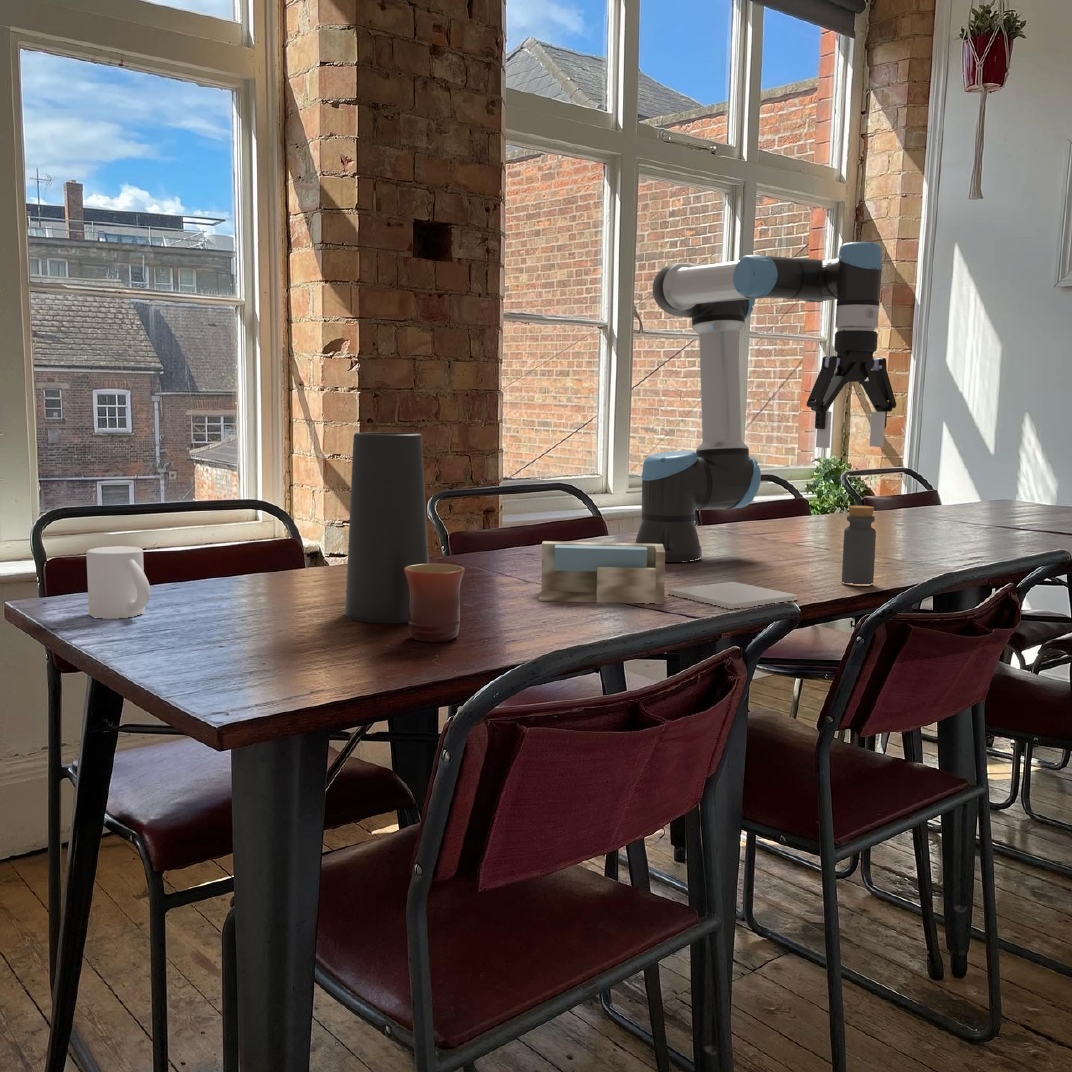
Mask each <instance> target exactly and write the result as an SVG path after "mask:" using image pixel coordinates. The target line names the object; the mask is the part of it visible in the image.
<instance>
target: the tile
mask: <svg viewBox="0 0 1072 1072" xmlns="http://www.w3.org/2000/svg"><path fill="white" fill-rule="evenodd" d="M667 593H668V594H670V595H669V596H672V595H674V597H676V596H677V597H676V598H680V599H684V598H688V599H687V600H689V599H692V600H691V601H693V600H696V601H695V602H697V601H700V602H699V603H701V602H704V603H703V604H705V603H711V604H715V605H718V606H722V607H724V608H723V609H726V608H728V610H730V609H733V610H735V609H734V608H740V607H743V608H742V609H745V608H755V607H759V606H758V605H762V606H766V605H765V604H769V603H775V602H778V601H792V600H790V599H795V598H798V599H799V594H795V593H789V592H784V591H779V590H776V589H775V590H774V589H770V588H765V587H760V586H756V585H751V584H746V583H741V582H739V581H738V582H736V581H728V582H718V583H711V584H702V585H694V586H685V587H684V586H683V587H676V588H675V587H674V588H668V591H667ZM668 594H667V595H668ZM792 602H793V601H792ZM718 606H717V607H718ZM754 606H755V607H754ZM722 607H721V608H722ZM740 609H741V608H740Z"/></svg>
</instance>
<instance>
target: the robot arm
mask: <svg viewBox="0 0 1072 1072" xmlns="http://www.w3.org/2000/svg"><path fill="white" fill-rule="evenodd" d="M883 268H884V265H883V249H882V246H881V245H880V244H879V243H876V242H873V241H872V242H871V241H854V242H853V241H852V242H846V243H843V244H841V245H840V247H839V251H838V255H837V257H836V258H830V259H829V258H828V259H815V258H804V257H803V258H801V257H786V256H785V257H783V256H773V255H765V254H748V255H744V256H741V259H739V260H733V261H726V262H725V261H724V262H719V263H711V264H707V263H693V262H692V263H690V262H677V263H672V264H669V265H666V266H665V267H663V268H662V269H660V270H659V271H658V272H657V274H656V276H655V278H654V280H653V283H652V297H653V299H654V301H655V303H656V304H657V306H658V307H659V308H660V309H661V310H662V311H664V312H665V313H667V314H669V315H671V316H675V317H680V318H691V329H692V330H693V331H694V332H695V333H696V334H697V335H698V338H699V363H700V364H699V368H700V369H699V370H700V371H699V373H700V399H701V400H700V401H701V402H700V403H701V404H700V405H701V430H702V431H701V434H702V437H701V438H702V441H701V444H700V445H699V446H698V447H697V448H696V449H695V451H694V450H675V451H674V450H673V451H666V452H665V451H664V452H658V453H654V454H650V455H649V456H647V457H645V459H644V460H643V464H642V473H641V480H642V482H641V520H640V521H641V522H640V526H639V529H638V531H637V535H636V538H635V543H642V544H663V547H664V550H665V562H682V561H690V560H695V559H698V558H700V557H702V554H703V553H702V552H703V550H702V545H700V540H699V536H698V532H697V528H696V524H695V523H696V521H695V518H696V511H697V510H698V511H700V510H703V511H704V510H705V511H706V510H727V511H728V510H733V509H738V508H739V509H741V508H746V507H747V506H749V505H750V504H751V503H752V502H753V501H754V500H755V498H756V496H757V495H758V492H759V489H760V487H761V479H762V475H761V474H762V473H761V467H760V465H759V462H758V461H757V459H756V458H755V457H753V456H750V449H749V448H750V447H749V446H747V445H746V443H744V442H743V440H742V415H741V414H742V413H741V412H742V411H741V387H740V386H741V385H740V384H741V379H740V376H741V375H740V352H739V350H740V348H739V346H740V345H739V334H740V333H739V332H740V331H741V330H742V329H743V328H744V327H745V326H746V325H745V324H746V320H747V318H749V316H750V315H752V313H753V310H754V308H753V307H754V306H755V303H756V302H755V301H756V300H758V299H786V300H787V299H788V300H801V301H803V302H806V303H823V302H826V301H827V302H828V301H833V300H836V303H835V304H836V305H835V306H836V309H835V310H836V311H835V323H834V327H835V329H838V330H837V331H836V332H835V333H834V346H833V350H834V351H835V352H836V355H827V356H826V355H824V356H823V357H822V361H821V368H820V370H819V372H818V375H817V377H816V380H815V382H814V385H813V387H812V390H811V392H810V394H809V397H808V399H807V401H806V407H808V408H810V409H811V411H812V412H813V411H814V413H815V414H814V415H815V417H814V428H815V430H816V438H815V440H816V441H815V447H816V448H823V449H829V448H831V430H832V429H831V428H832V427H831V426H832V411H828V410H829V408H830V407H831V406H832V405H833V403H834V401H835V400H836V398H837V397H838V395H839V394H840V392H841V390H843V388H844V387H845V386H846V384H849V383H850V382H851V383H858V384H859V385H861V386H862V388H863V389H864V392H865V394H866V395H867V397H868V399H869V401H870V403H871V405H872V406H873V408H874V409H875V411H871V416H870V429H869V430H870V431H869V432H870V433H869V447H873V448H875V447H876V448H884V446H885V445H884V441H885V429H887V428H886V427H887V420H888V413H890V412H892V411H893V409H896V407H897V401H896V398H895V394H894V390H893V388H892V384H891V380H890V377H889V373H888V370H887V358H886V357H874V353H875V352H876V351H877V350H878V338H879V337H878V336H879V333H878V332H877V331H875V329H878V328H879V318H880V317H879V315H880V314H879V313H880V301H881V300H880V299H881V285H882V284H881V283H882V270H883ZM682 563H683V562H682Z"/></svg>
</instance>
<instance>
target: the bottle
mask: <svg viewBox="0 0 1072 1072" xmlns="http://www.w3.org/2000/svg"><path fill="white" fill-rule="evenodd" d="M874 511H875V507H874V506H869V505H849V506H848V512H849V514H848V515H847V516H846V521H847V522H848V523H849V526H847V527H845V528H844V532H843V543H842V544H843V547H842V548H843V549H842V569H841V583H842V582H844V583H853V584H871V583H873V584H874V575H875V559H876V543H877V542H876V541H877V540H876V539H877V531H876V529H875V528H874V527H872V523H874V522H875V520H876V518H875V516H873V515H874Z"/></svg>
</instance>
